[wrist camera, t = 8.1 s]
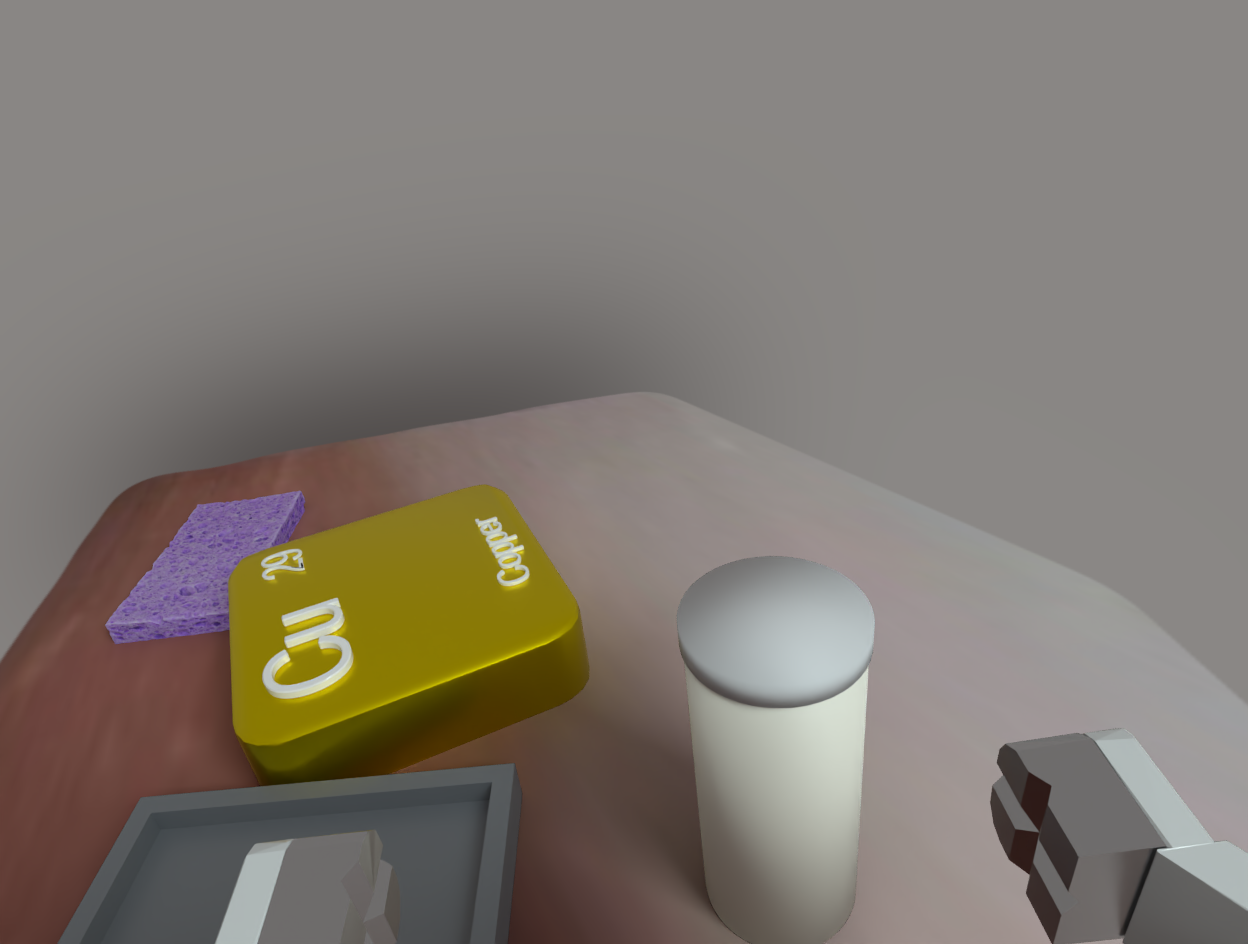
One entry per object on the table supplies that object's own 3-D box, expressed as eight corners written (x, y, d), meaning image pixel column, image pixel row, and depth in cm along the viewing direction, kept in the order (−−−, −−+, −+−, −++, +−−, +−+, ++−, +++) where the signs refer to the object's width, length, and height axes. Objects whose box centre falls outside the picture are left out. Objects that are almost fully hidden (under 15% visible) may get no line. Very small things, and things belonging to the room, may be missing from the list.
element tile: (605, 694, 38) (592, 614, 36) (267, 831, 34) (226, 750, 31) (509, 535, 50) (495, 468, 48) (252, 620, 46) (221, 550, 43)
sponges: (116, 651, 45) (102, 624, 44) (207, 523, 55) (197, 499, 55) (245, 637, 45) (233, 610, 44) (310, 511, 55) (302, 487, 54)
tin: (878, 946, 27) (901, 673, 21) (712, 962, 27) (686, 695, 21) (836, 804, 31) (845, 547, 25) (694, 817, 31) (669, 566, 25)
